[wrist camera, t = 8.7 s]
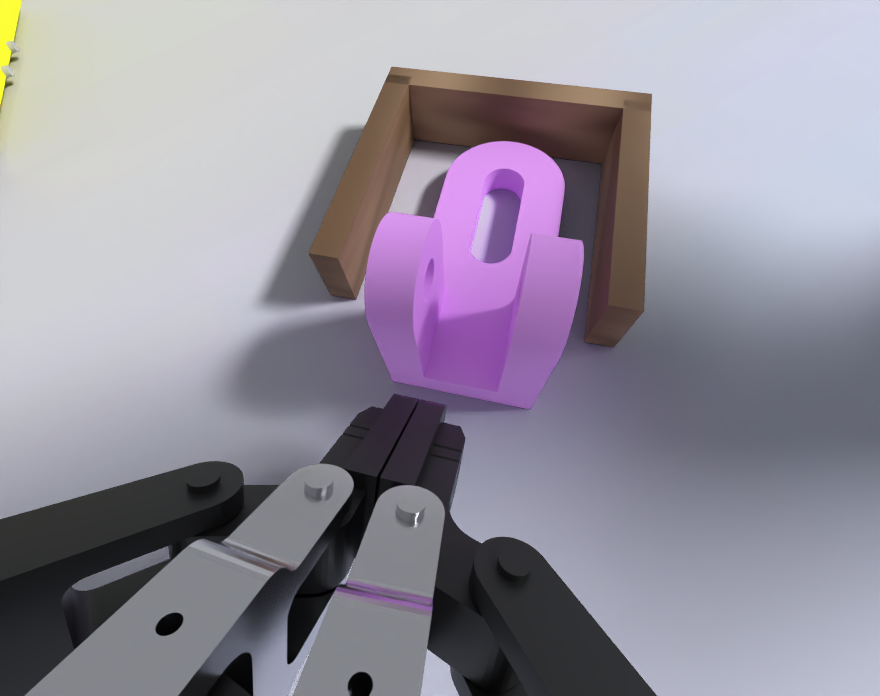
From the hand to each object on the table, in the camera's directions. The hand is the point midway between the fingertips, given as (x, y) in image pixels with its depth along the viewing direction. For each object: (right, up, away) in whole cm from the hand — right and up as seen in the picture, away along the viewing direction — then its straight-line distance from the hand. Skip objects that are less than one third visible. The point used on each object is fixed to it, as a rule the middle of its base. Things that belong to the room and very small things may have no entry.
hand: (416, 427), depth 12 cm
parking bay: (+3, +9, +8) cm, 12 cm away
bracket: (+3, +6, +8) cm, 10 cm away
